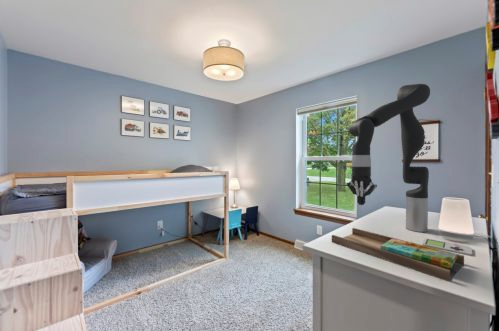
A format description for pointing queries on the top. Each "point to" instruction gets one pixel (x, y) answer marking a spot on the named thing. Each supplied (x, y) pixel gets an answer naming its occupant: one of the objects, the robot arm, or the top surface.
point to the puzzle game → (420, 253)
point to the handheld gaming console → (448, 246)
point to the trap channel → (372, 246)
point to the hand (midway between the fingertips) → (361, 204)
